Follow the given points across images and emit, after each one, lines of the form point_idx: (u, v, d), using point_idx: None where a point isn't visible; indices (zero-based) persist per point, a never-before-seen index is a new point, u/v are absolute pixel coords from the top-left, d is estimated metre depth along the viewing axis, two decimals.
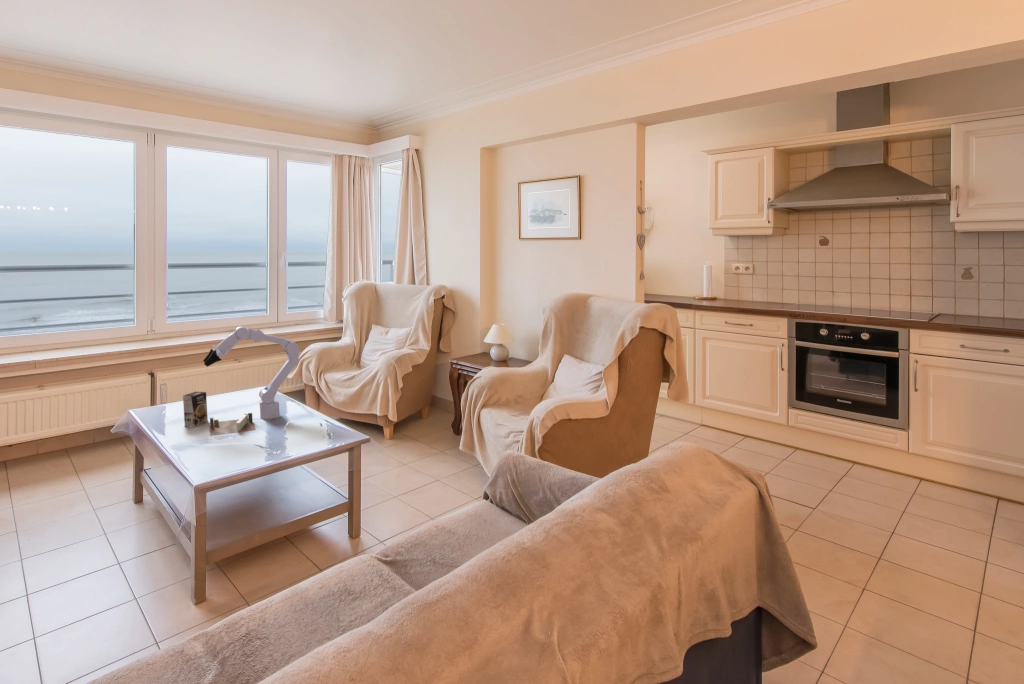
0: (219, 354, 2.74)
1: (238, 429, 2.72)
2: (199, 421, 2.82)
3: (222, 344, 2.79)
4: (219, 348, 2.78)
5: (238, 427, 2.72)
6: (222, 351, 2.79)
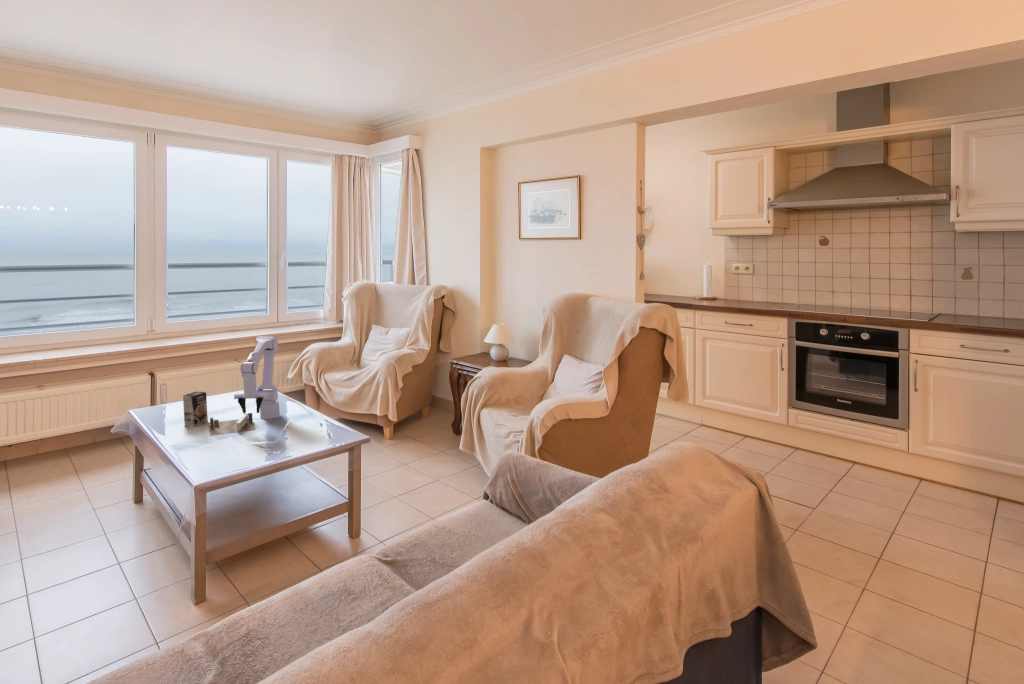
0: (266, 396, 2.76)
1: (238, 429, 2.72)
2: (199, 421, 2.82)
3: (253, 389, 2.72)
4: (254, 393, 2.73)
5: (238, 427, 2.72)
6: (256, 392, 2.75)
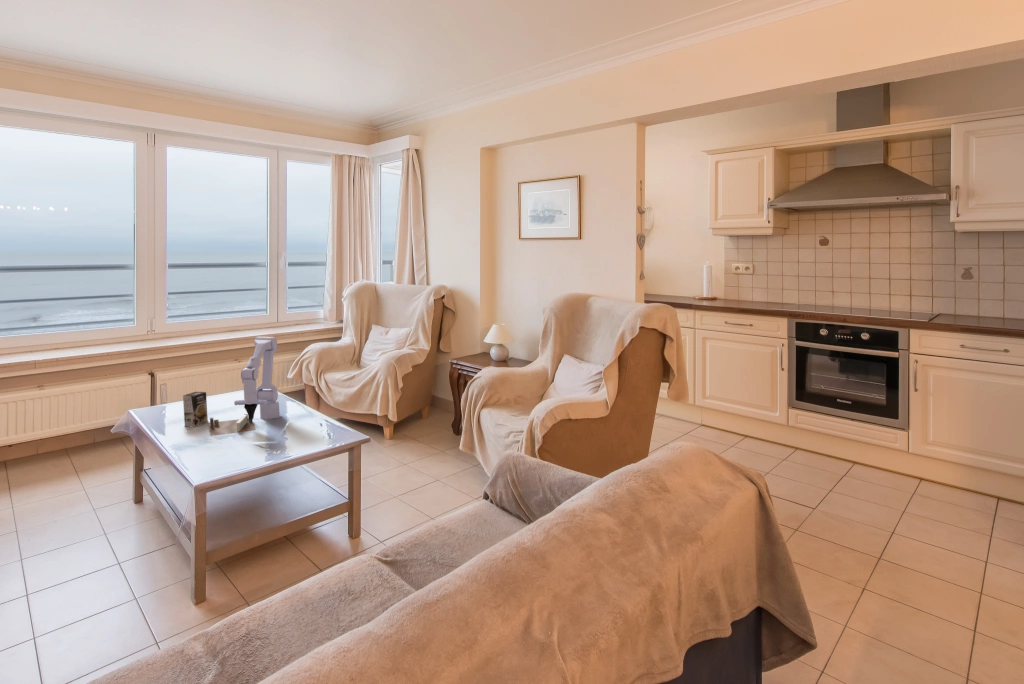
0: (266, 402, 2.76)
1: (238, 429, 2.72)
2: (199, 421, 2.82)
3: (253, 395, 2.73)
4: (255, 399, 2.74)
5: (238, 427, 2.72)
6: (257, 398, 2.76)
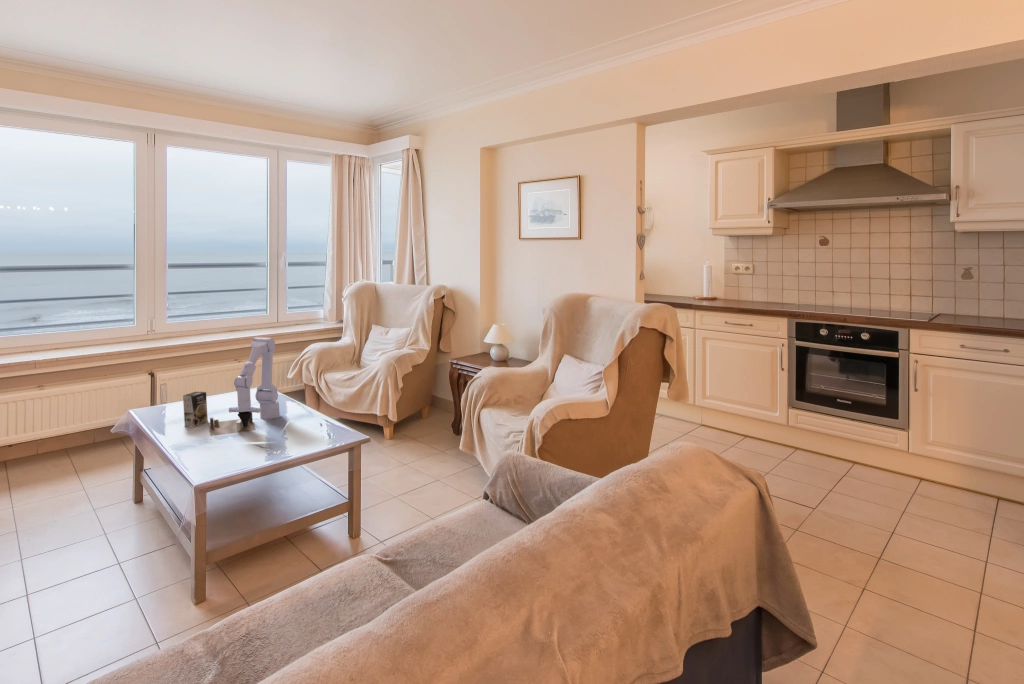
0: (259, 410, 2.75)
1: (238, 429, 2.72)
2: (199, 421, 2.82)
3: (246, 403, 2.73)
4: (248, 407, 2.73)
5: (238, 427, 2.72)
6: (250, 406, 2.75)
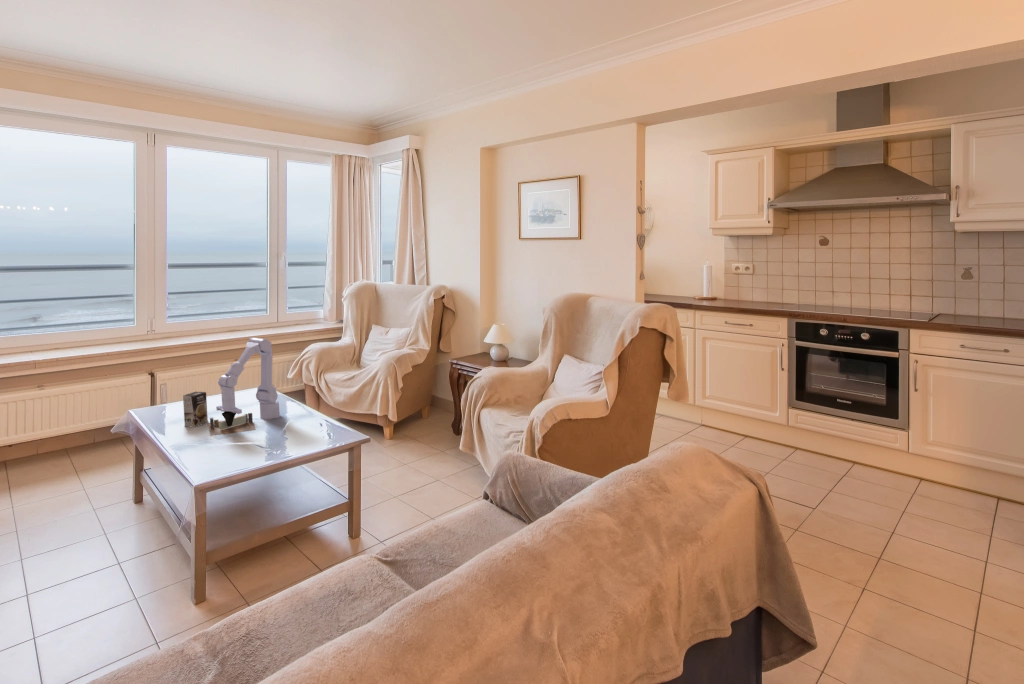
0: (239, 411, 2.72)
1: (220, 428, 2.74)
2: (199, 421, 2.82)
3: (228, 403, 2.72)
4: (229, 407, 2.72)
5: (220, 426, 2.74)
6: (233, 407, 2.74)
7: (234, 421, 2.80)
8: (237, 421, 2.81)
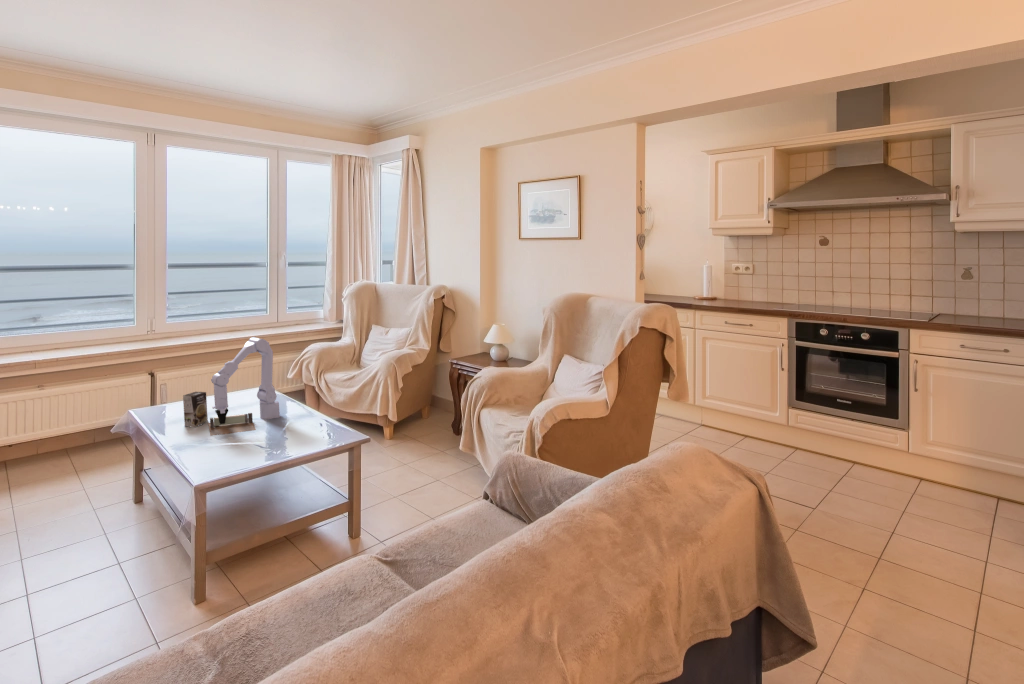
0: (222, 411, 2.72)
1: (214, 424, 2.79)
2: (199, 421, 2.82)
3: (216, 401, 2.75)
4: (218, 405, 2.75)
5: (214, 422, 2.79)
6: (222, 405, 2.76)
7: (230, 419, 2.82)
8: (234, 420, 2.83)
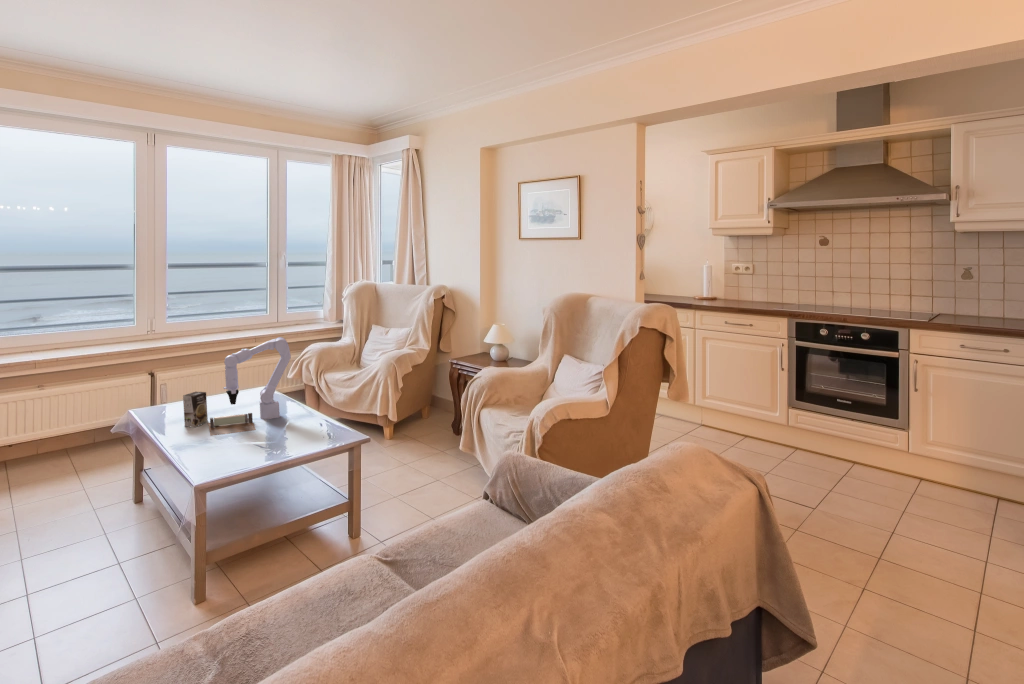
0: (233, 391, 2.82)
1: (214, 424, 2.79)
2: (199, 421, 2.82)
3: (228, 382, 2.85)
4: (229, 386, 2.85)
5: (214, 422, 2.79)
6: (233, 386, 2.86)
7: (230, 419, 2.82)
8: (234, 420, 2.83)
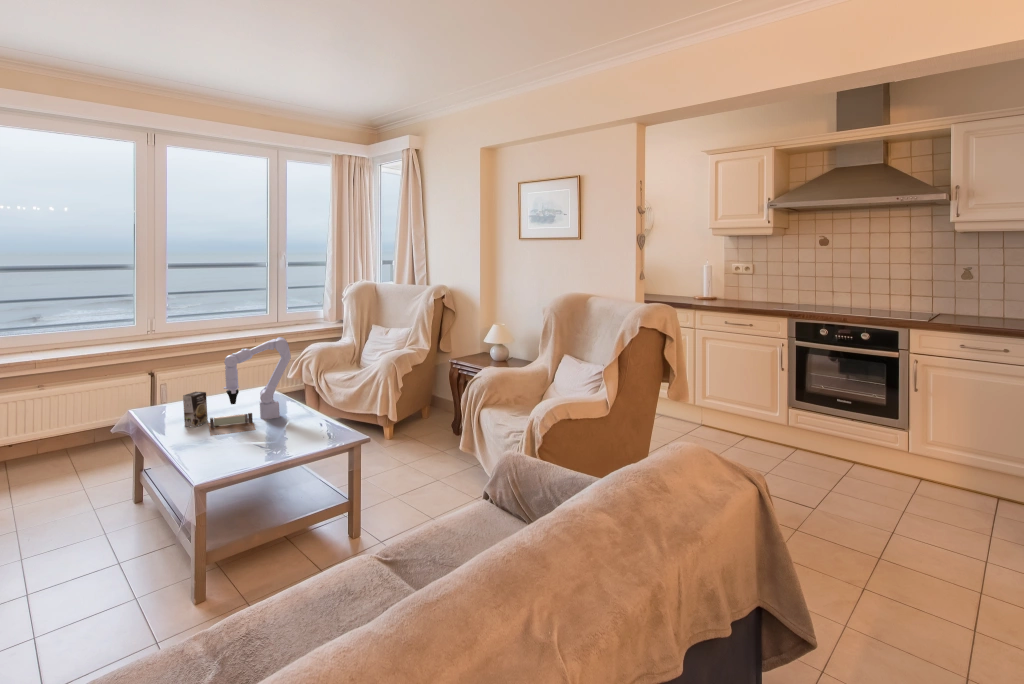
0: (233, 391, 2.82)
1: (214, 424, 2.79)
2: (199, 421, 2.82)
3: (228, 381, 2.85)
4: (229, 386, 2.85)
5: (214, 422, 2.79)
6: (233, 386, 2.86)
7: (230, 419, 2.82)
8: (234, 420, 2.83)
